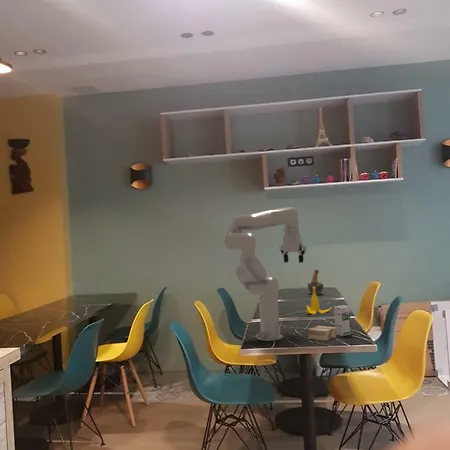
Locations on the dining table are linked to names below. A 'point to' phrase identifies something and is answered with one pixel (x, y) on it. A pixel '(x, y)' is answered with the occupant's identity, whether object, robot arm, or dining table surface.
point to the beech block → (322, 333)
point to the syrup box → (342, 320)
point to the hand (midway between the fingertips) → (293, 262)
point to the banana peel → (315, 305)
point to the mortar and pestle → (315, 284)
